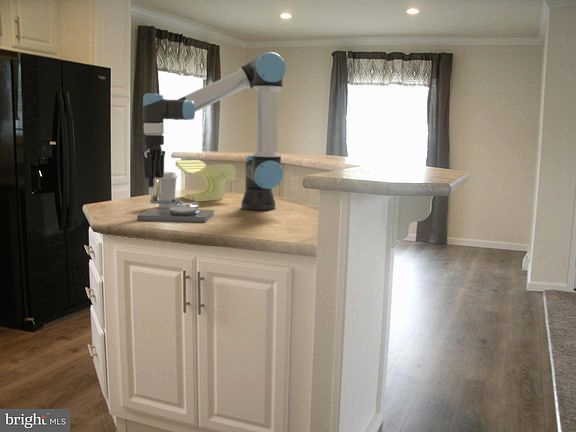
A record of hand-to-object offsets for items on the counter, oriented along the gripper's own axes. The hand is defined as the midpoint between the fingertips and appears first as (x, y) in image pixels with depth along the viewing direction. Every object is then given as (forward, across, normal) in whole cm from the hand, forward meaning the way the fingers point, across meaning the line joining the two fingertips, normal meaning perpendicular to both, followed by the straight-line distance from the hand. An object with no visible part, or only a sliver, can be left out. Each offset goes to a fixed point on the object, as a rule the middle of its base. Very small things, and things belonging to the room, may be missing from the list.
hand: (154, 194), depth 215 cm
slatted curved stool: (+9, -54, -4) cm, 55 cm away
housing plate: (+9, 0, +10) cm, 13 cm away
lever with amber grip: (+6, 0, +8) cm, 10 cm away
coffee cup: (+9, -22, -7) cm, 25 cm away
